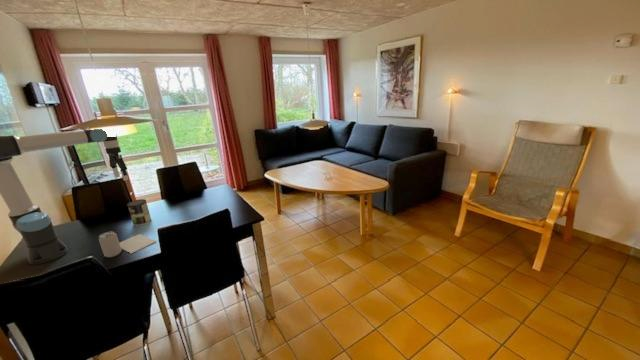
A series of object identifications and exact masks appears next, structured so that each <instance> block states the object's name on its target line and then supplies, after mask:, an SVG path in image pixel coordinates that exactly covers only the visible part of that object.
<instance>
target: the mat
mask: <svg viewBox="0 0 640 360" xmlns="http://www.w3.org/2000/svg"><path fill="white" fill-rule="evenodd" d="M119 243H120V246H121V249H122V250H123V251H124V252H127V253H128V252H129V254H130V255H132V253H133V254H135V253H137V252H139V251H141V250H142V249H145V248H147V247H149V246H151V245H153V244H155V243H157V240H155V239H152V238H150V237H148V236H146V235H144V234H141V233H138V234H137V235H134V236H132V237H130V238H126V239H124V240H122V241H119ZM134 252H135V253H134Z"/></svg>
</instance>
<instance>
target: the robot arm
mask: <svg viewBox="0 0 640 360" xmlns="http://www.w3.org/2000/svg"><path fill="white" fill-rule="evenodd" d="M75 129H76V130H75ZM75 129H74V130H68V131H59V132H51V133H43V134H40V133H39V134H33V135H22V136H16V135H14V134H12V135H0V196H1V197H2V199H3V201H4V203H5V204H6V206H7V208H8V210H9V212H8V214H7V216H8V219H9V220H10V221H11V223H12V227H13V228H14V229H15V231H17V232H18V233H19V234H20V236H21V237H22V239H23V242H25V246H26V248H27V261H28V263H29V264H30V265H32V266H33V265H34V266H37V265H42V264H46V263H49V262H52V261H54V260H57V259H59V258H61V257H63V256H64V255H65V254H66V253H68V250H69V249H68V247H67V245H66V244H65V243H64V242H63V241H62V240H60V239H59V237H58V234H57V231H56V229H55V227H54V225H53V222H52V218H51V217H50V215H49V214H48V213H46V212H42V210H41V208H40V206H39V205H36V204H33V202H32V199H31V198H30V196H29V193H28V192H27V190H26V189H25V186H24V184H23V182H22V181H21V179H20V177H19V175H18V174H17V172H16V170H15V168H14V166H13V164H12V161H13V160H14V157H17V156H18V157H19V156H23V154H24V153H30V152H37V151H44V150H50V149H57V148H63V147H71V146H78V145H85V144H90V143H102V144H103V146H104V148H105V153H106V154H107V155H108V160H109V167H110V168H111V169H112V172H113V175H114V178H115V179H117V178H120V177H121V176H122V180H123V181H124V182H126V181H128V180H129V176H128V172H127V170H128V166H127V165H126V162H125V161H124V159H123V155H122V154H120V153H121V152H122V151H121V147H120V143H119V142H120V141H119V140H118V136H117V135H116V137H107V134H106V132H105V131H103V130H102V129H94V130H87V129H80V128H75ZM118 168H119V169H120V171H119V169H118ZM120 174H121V176H120Z"/></svg>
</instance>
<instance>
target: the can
mask: <svg viewBox="0 0 640 360" xmlns="http://www.w3.org/2000/svg"><path fill="white" fill-rule="evenodd" d="M98 241H99V245H100V247H101V250H102V253H103V256H104V257H105V258H113V257H117V256H119V255H120V254H121V252H122V250H123V249H121V246H120V241H119V237H118V234H117V233H115V232H114V231H112V230H111V231H107V232H103V233H101V234H100V235H99V236H98Z"/></svg>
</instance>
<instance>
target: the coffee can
mask: <svg viewBox="0 0 640 360" xmlns="http://www.w3.org/2000/svg"><path fill="white" fill-rule="evenodd" d="M126 206H127V208H128V212H129V214H130V217H131V220H132V224H133V226H143V225H147V224H149V223H150V222H152V218H151V214H150V210H149V206H148V204H147V200H146V199H144V198H139V199H134V200H132V201H129V202H128V203H127V205H126Z"/></svg>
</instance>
